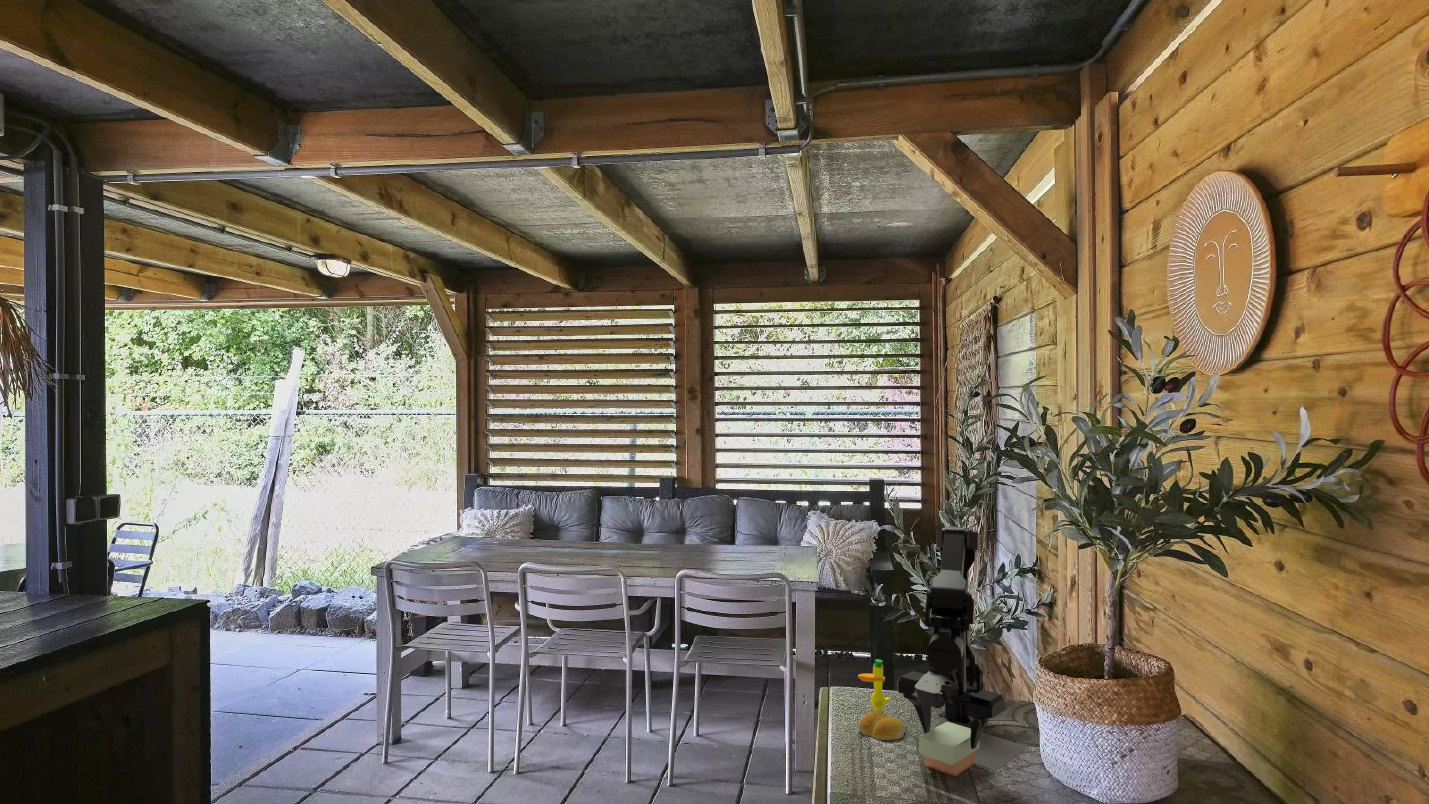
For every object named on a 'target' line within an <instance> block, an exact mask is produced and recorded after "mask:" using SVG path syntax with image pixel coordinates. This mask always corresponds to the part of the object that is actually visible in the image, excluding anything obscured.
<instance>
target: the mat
mask: <svg viewBox="0 0 1429 804" xmlns="http://www.w3.org/2000/svg"><path fill="white" fill-rule="evenodd" d="M1029 748H1030V746H1028V745H1023V744H1022V743H1017V742H1016V741H1015V742H1014V741H1011V740H1008V739H1004V738H1001V737H997V736H995V735H990V734H988V733H984V732H982V735H981V737H980V748H978V749H977V750H975V751H974V765H977V766H980V767H982V768H986V769H988V770H992V771H994V772H996V771H998V770H999V769H1001V768H1002V767H1004V766H1005V765H1006V764H1008V763H1009V762H1011V761H1012V760H1013V759H1015V758H1016V757H1017V756H1019V755H1021V753H1023V752H1024V751H1026V750H1027V749H1029Z"/></svg>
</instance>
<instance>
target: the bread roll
mask: <svg viewBox="0 0 1429 804" xmlns="http://www.w3.org/2000/svg"><path fill="white" fill-rule="evenodd" d="M857 726H858V728H859V731H860V732H861V734H862V735H863V736H865V737H868V736H869V737H872V738H874V739H876V740H880V741H891V740H892V741H893V740H894V741H895V740H899V739H901V738H903V737H904V735H905V725H904V724H903V722H902V720H900V719H899V718H896V717H893V716H888V715H887V714H885V713H883V712H881V711H875V710H874V711H873V710H872V711H869V712H867V713H866V714H864V715H863V716H862V717H861V718H860V719H859V720H858V725H857Z"/></svg>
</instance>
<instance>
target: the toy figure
mask: <svg viewBox="0 0 1429 804" xmlns="http://www.w3.org/2000/svg"><path fill="white" fill-rule="evenodd" d="M857 678H858V679H859V680H861V681H862V682H868V683H873V689H874V690H873V691H874V692H873V693H872V694H871V696H870V704H871V707H872V708H873V710H874V711H879V712H881V711H883V710H884V708H885V707H886V705H887V704H888V703H889V701H890V699H891V697H886V696H885V694H884V693H883V685H884V682H886V677H885V676H884V665H883V660H882V659H879V658H877V659H874V663H873V666H872V673H860V674H858V675H857Z"/></svg>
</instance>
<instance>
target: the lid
mask: <svg viewBox="0 0 1429 804" xmlns="http://www.w3.org/2000/svg"><path fill="white" fill-rule="evenodd" d="M970 737H971V727H966V726H963V725H960V724H957V723H953V722H949V721H945V722H944V723H941V724H940V725H938V726H937V727H934V728H933V729H930V731H929V732H927V733H926V734H925V733H924V734H922V735H920V736H919V737H918V751H919V752H918V753H919V755H922V756H924V757H925V756H927V757H930V758H933V759H936V760H939V761H941V762H944V763H947V764H950V765H954V764H955V763H957V762H958V761H960V760H961V759H963V758H964V757H966V756H968V755H969V754H971V753H972V752H974V751H975V750H977V749H978V748H980V739H979V741H978V744H977V746H976V748H975V749H971V743H970Z"/></svg>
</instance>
